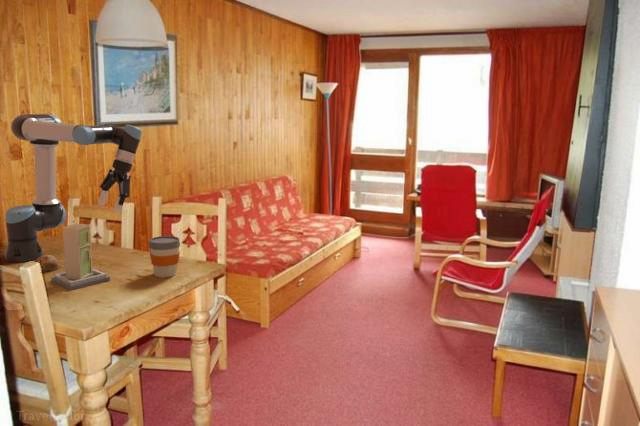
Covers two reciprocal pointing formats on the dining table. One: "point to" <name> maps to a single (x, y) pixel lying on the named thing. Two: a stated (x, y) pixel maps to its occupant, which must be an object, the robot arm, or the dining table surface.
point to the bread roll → (48, 263)
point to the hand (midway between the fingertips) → (108, 208)
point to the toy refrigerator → (77, 251)
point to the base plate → (75, 284)
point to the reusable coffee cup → (164, 255)
